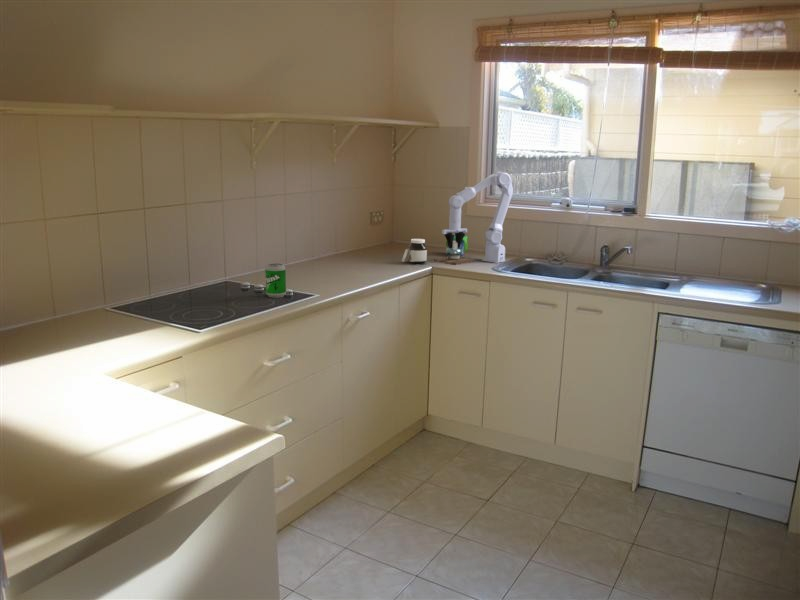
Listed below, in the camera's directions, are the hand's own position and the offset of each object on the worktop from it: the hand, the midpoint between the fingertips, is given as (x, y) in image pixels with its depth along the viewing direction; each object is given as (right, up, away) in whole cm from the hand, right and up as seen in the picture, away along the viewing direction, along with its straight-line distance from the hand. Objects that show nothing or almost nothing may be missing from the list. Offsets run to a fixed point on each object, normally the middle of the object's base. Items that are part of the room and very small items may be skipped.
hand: (454, 247), depth 343 cm
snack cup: (+3, -3, +20) cm, 21 cm away
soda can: (-74, -25, -79) cm, 111 cm away
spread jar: (-20, -8, -5) cm, 23 cm away
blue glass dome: (0, -3, 0) cm, 3 cm away
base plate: (0, -7, +2) cm, 7 cm away
